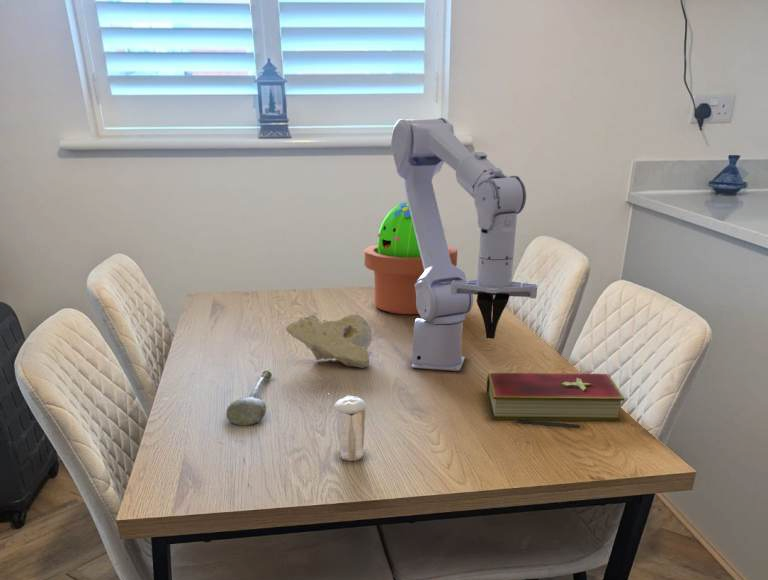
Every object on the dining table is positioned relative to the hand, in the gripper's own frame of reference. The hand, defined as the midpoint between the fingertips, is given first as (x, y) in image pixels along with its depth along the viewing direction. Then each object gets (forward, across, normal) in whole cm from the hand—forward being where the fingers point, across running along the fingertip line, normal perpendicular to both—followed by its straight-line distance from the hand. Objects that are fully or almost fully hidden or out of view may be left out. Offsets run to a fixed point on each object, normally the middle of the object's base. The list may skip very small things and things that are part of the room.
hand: (490, 336), depth 126 cm
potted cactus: (+10, -25, +53) cm, 59 cm away
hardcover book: (+10, +12, -7) cm, 17 cm away
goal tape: (+9, +12, -6) cm, 16 cm away
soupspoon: (+10, -39, -15) cm, 43 cm away
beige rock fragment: (+10, -32, +7) cm, 34 cm away
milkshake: (+10, -17, -33) cm, 38 cm away
